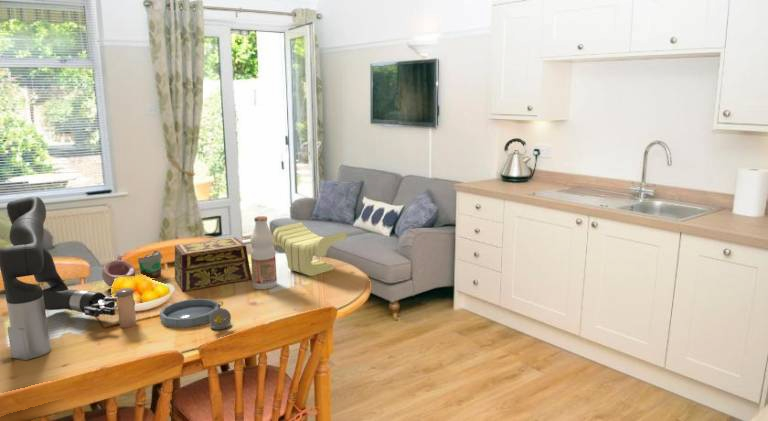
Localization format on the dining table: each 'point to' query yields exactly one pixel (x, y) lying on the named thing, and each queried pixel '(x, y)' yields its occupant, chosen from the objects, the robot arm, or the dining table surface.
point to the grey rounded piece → (220, 318)
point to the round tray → (187, 313)
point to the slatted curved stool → (304, 248)
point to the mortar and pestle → (116, 271)
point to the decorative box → (211, 264)
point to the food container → (151, 265)
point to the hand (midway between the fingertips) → (124, 307)
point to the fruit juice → (263, 255)
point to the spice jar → (126, 307)
